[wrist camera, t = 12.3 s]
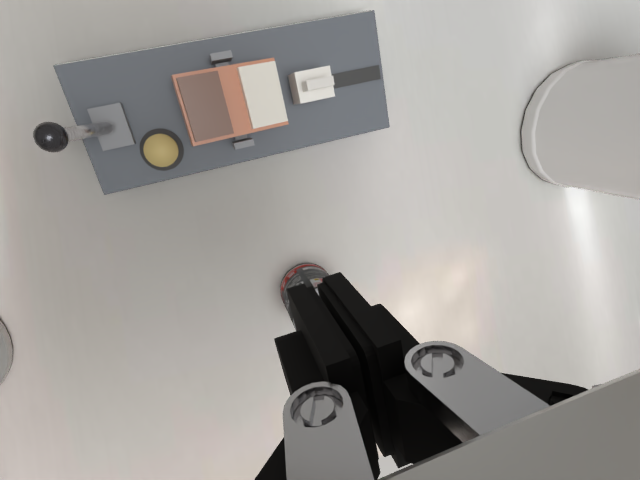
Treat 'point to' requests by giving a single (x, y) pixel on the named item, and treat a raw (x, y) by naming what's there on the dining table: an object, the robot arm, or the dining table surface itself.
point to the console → (161, 62)
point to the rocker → (230, 100)
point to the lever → (66, 134)
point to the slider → (311, 85)
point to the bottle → (587, 127)
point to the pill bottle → (301, 281)
